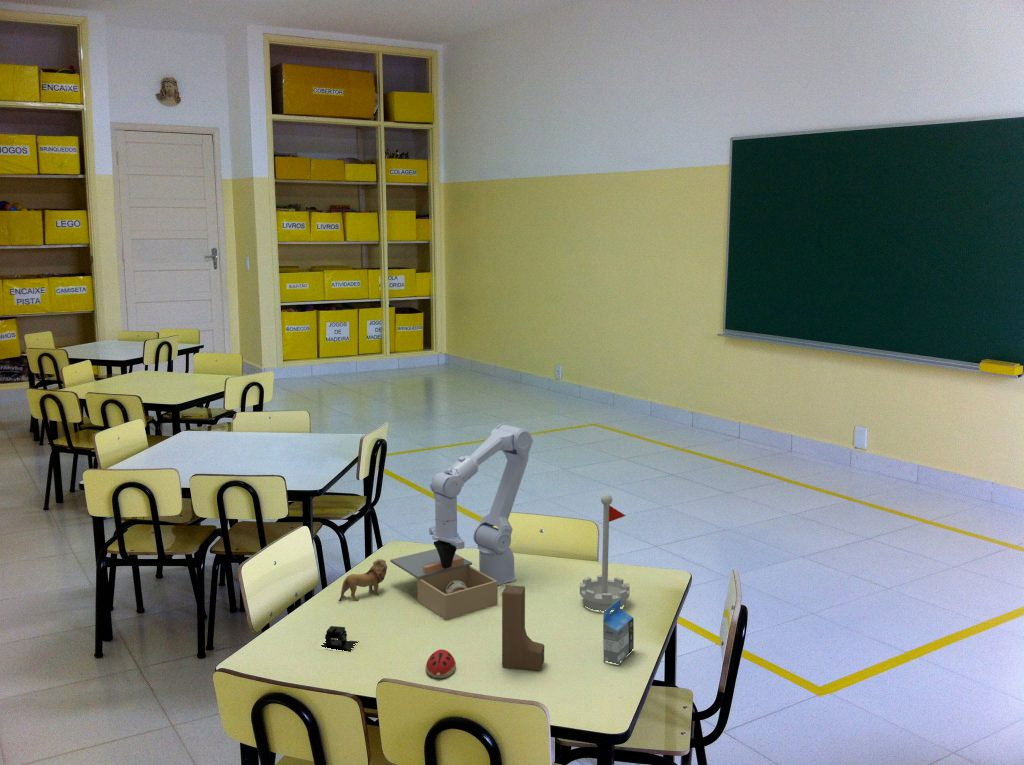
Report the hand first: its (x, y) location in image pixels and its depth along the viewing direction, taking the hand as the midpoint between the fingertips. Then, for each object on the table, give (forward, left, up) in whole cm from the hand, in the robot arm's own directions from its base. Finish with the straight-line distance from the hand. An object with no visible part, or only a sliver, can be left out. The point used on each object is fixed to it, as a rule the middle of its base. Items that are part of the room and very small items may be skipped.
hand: (446, 567), depth 237 cm
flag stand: (-31, +28, -9) cm, 43 cm away
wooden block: (+6, +42, -8) cm, 43 cm away
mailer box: (0, +5, -8) cm, 10 cm away
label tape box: (-14, +52, -9) cm, 54 cm away
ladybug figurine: (+22, +33, -9) cm, 41 cm away
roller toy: (0, +5, -9) cm, 10 cm away
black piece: (+36, +8, -9) cm, 38 cm away
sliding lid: (0, -8, -2) cm, 8 cm away
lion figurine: (+18, -14, -9) cm, 24 cm away
